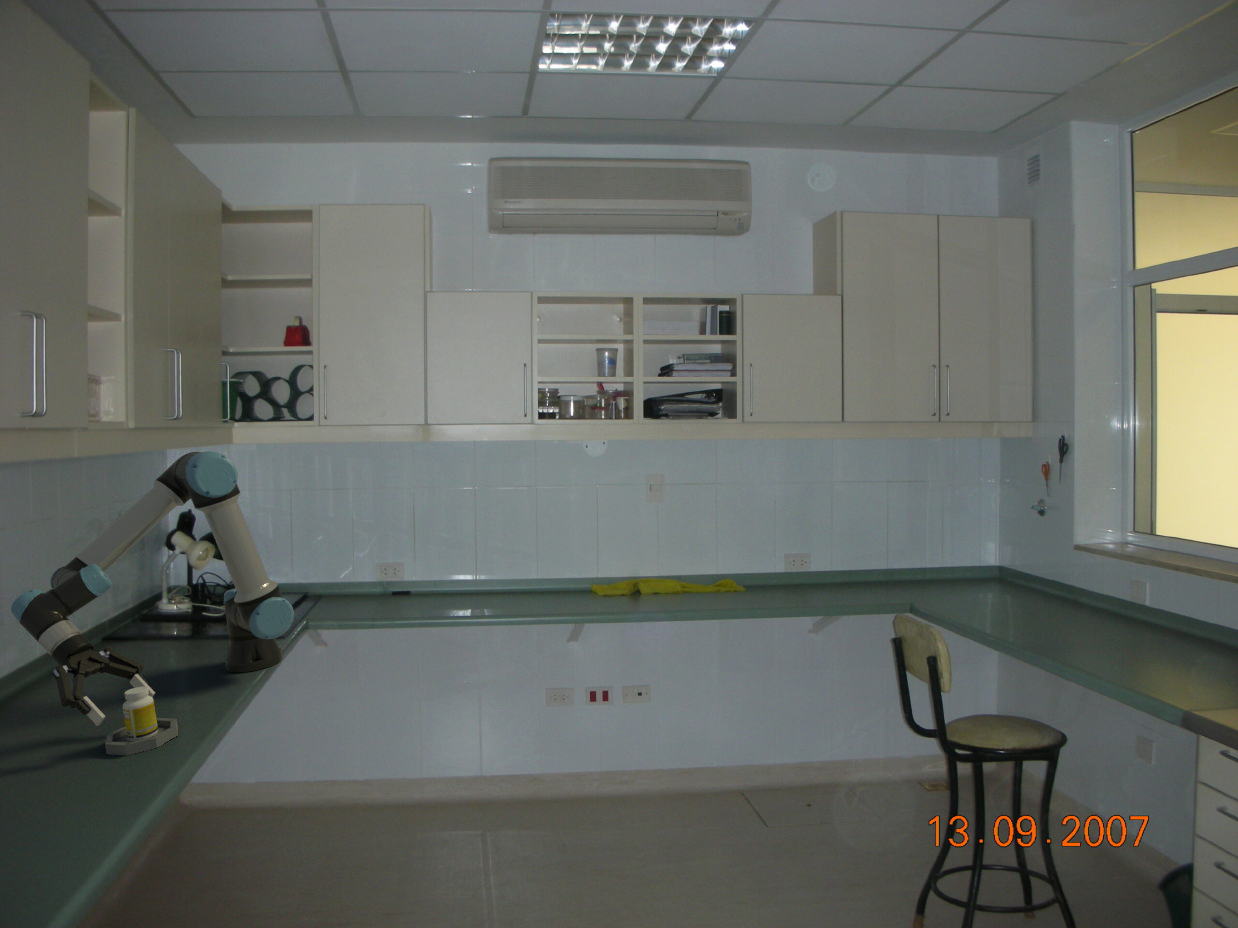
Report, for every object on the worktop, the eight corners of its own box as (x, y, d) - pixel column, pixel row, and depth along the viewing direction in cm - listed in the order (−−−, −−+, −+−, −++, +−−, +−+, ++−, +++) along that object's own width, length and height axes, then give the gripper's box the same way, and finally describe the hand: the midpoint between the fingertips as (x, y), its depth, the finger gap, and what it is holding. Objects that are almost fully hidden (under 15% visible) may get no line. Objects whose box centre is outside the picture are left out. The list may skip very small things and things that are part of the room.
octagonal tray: (144, 726, 196) (143, 717, 195) (191, 729, 191) (190, 719, 191) (92, 753, 182) (90, 742, 182) (141, 756, 178) (140, 745, 178)
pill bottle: (163, 729, 190) (157, 683, 189) (149, 740, 184) (142, 693, 183) (136, 731, 190) (130, 686, 189) (121, 743, 184) (114, 696, 183)
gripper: (106, 638, 202) (163, 698, 200) (7, 674, 179) (70, 743, 176) (120, 617, 201) (177, 677, 198) (22, 651, 177) (86, 720, 174)
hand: (127, 708), depth 187 cm, fingers open, 13 cm apart
